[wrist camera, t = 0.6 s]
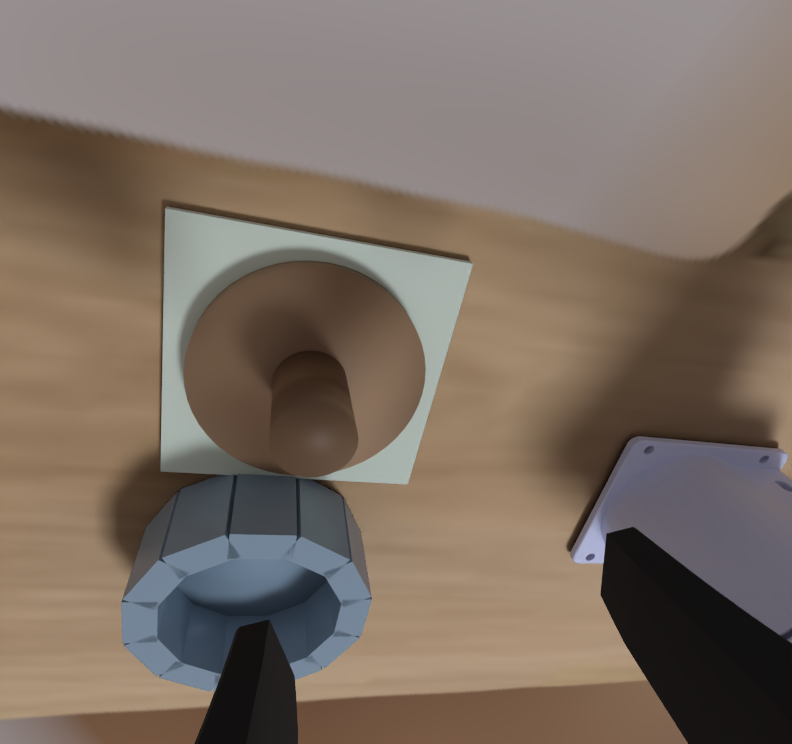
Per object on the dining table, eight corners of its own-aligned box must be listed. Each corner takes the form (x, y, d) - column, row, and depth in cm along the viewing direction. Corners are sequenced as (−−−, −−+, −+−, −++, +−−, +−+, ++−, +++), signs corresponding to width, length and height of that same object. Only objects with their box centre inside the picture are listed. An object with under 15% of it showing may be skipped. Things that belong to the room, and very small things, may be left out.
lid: (445, 281, 18) (486, 332, 14) (394, 468, 21) (415, 546, 18) (192, 239, 16) (162, 287, 12) (183, 456, 19) (158, 543, 16)
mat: (470, 261, 18) (473, 263, 18) (406, 479, 22) (407, 484, 22) (167, 206, 15) (165, 208, 15) (162, 466, 20) (160, 471, 19)
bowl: (376, 476, 22) (389, 537, 19) (339, 615, 26) (346, 684, 23) (145, 463, 19) (119, 531, 16) (145, 619, 23) (124, 697, 20)
